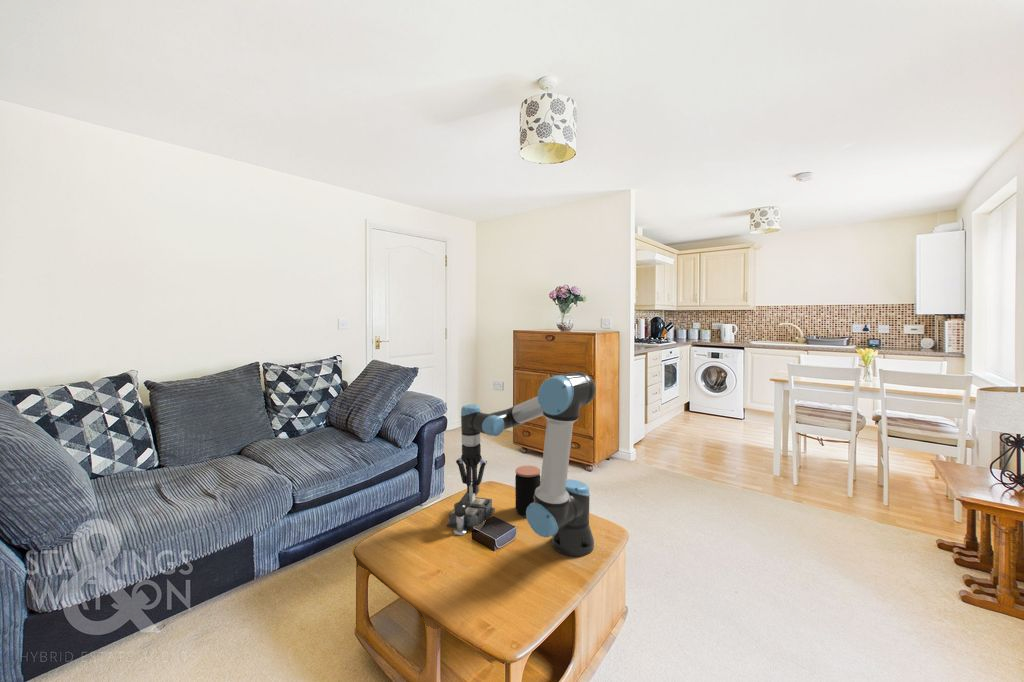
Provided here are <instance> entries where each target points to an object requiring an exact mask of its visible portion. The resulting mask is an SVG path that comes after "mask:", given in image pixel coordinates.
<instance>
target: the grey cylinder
mask: <svg viewBox="0 0 1024 682" xmlns="http://www.w3.org/2000/svg"><path fill="white" fill-rule="evenodd" d="M456 518H457V528H453V529H454V530H453V535H455V536H458V537H460V536H464V535H466V534H467V533H468V530H467V529H466V528H465V527H464V515H463V516H456Z"/></svg>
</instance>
